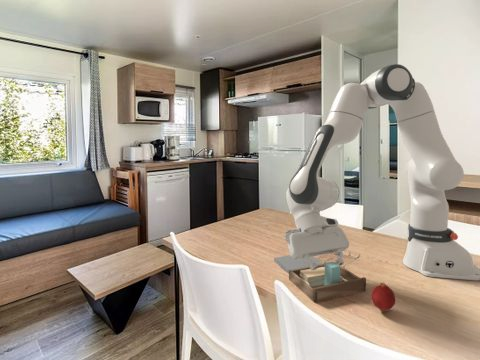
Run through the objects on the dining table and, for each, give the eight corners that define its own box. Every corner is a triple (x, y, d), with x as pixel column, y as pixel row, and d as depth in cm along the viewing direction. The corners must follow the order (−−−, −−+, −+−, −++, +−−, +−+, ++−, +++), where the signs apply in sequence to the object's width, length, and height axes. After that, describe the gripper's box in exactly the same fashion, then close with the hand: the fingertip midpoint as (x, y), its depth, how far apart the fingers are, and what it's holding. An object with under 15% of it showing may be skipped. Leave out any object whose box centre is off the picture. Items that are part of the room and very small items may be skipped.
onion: (380, 302, 84) (381, 275, 83) (399, 312, 79) (401, 284, 78) (365, 308, 81) (366, 280, 80) (385, 319, 76) (386, 290, 75)
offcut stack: (296, 279, 99) (296, 270, 98) (330, 272, 103) (330, 263, 102) (307, 288, 93) (307, 278, 92) (342, 280, 97) (342, 271, 97)
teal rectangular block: (324, 288, 93) (324, 263, 92) (332, 286, 94) (333, 261, 93) (331, 293, 90) (331, 267, 88) (339, 291, 91) (340, 266, 89)
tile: (274, 260, 114) (274, 257, 114) (306, 255, 118) (306, 252, 118) (292, 276, 101) (292, 273, 101) (328, 269, 105) (328, 266, 105)
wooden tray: (288, 279, 99) (288, 267, 99) (334, 270, 105) (334, 259, 104) (314, 302, 85) (314, 289, 84) (365, 290, 90) (366, 278, 90)
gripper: (286, 226, 95) (301, 268, 87) (340, 219, 101) (360, 257, 93) (279, 235, 100) (294, 276, 92) (332, 228, 106) (350, 265, 98)
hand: (328, 266), depth 93 cm, fingers open, 8 cm apart
